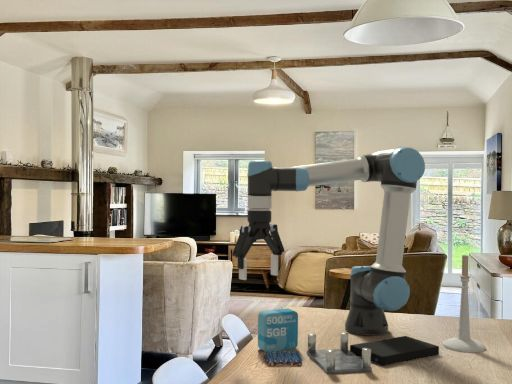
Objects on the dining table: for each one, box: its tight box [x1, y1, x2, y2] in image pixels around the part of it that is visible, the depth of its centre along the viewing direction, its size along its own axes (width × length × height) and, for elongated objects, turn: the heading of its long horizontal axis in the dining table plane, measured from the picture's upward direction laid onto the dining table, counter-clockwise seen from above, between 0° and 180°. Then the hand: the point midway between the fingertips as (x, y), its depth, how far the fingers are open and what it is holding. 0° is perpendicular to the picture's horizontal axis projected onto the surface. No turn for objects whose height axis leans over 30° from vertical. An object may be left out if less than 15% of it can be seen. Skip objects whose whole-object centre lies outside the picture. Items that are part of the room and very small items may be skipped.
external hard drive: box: [349, 335, 440, 367], centre depth 175 cm, size 14×23×3 cm, turn 121°
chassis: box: [306, 332, 373, 375], centre depth 166 cm, size 13×20×6 cm, turn 12°
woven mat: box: [263, 350, 303, 367], centre depth 167 cm, size 10×11×2 cm
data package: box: [257, 308, 299, 353], centre depth 179 cm, size 12×4×12 cm, turn 116°
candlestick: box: [442, 254, 486, 354], centre depth 184 cm, size 13×13×30 cm
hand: (259, 277), depth 180 cm, fingers open, 13 cm apart
